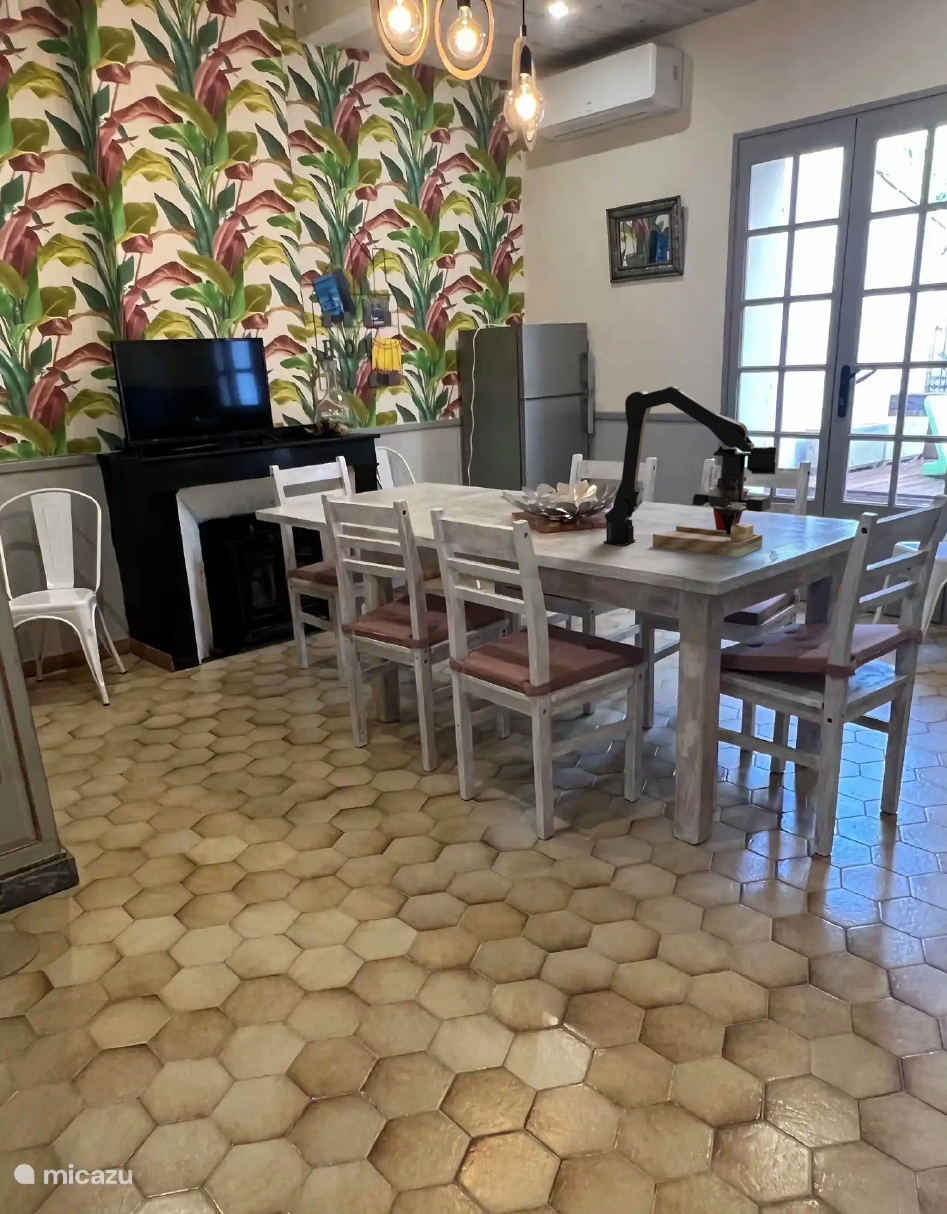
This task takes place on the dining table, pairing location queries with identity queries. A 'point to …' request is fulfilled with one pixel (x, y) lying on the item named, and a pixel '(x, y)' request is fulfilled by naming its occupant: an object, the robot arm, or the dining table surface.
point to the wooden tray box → (706, 541)
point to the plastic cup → (718, 518)
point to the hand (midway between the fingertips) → (728, 534)
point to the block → (741, 532)
